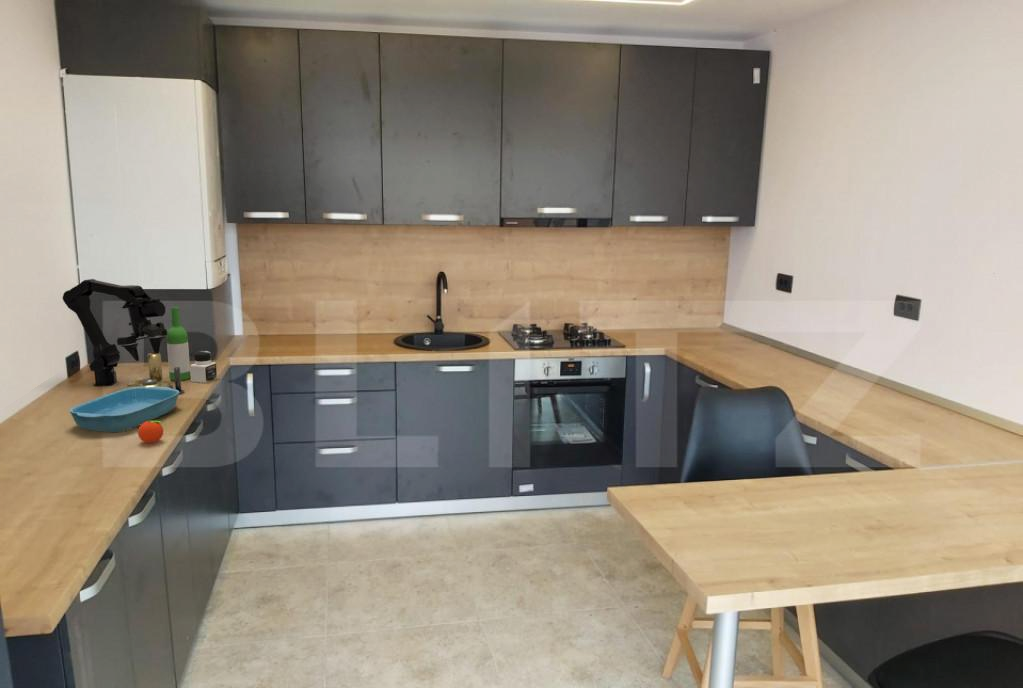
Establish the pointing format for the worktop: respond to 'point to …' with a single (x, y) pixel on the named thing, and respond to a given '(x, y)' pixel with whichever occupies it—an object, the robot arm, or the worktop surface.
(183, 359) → the wine bottle
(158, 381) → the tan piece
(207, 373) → the medicine bottle
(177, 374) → the stop post
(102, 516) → the worktop surface
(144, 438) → the tomato
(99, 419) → the casserole dish
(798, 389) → the worktop surface
